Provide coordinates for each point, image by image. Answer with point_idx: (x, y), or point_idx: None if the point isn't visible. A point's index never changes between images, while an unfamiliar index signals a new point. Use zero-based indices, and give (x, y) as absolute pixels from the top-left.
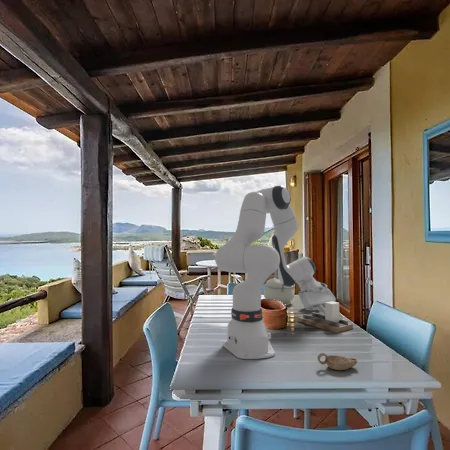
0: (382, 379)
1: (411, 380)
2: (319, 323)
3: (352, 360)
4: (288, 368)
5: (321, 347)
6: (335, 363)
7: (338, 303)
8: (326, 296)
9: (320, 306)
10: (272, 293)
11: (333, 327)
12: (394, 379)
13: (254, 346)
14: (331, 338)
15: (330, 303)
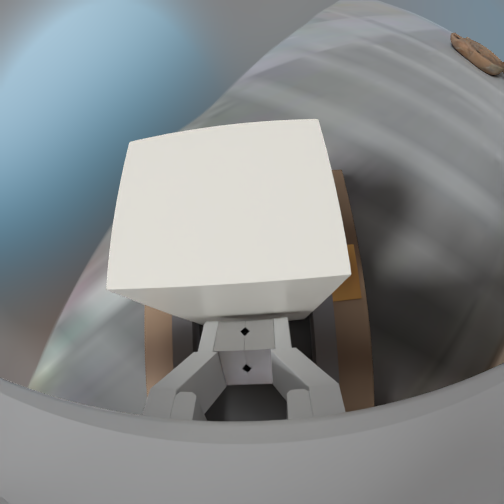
0: (426, 21)
1: (385, 3)
2: (368, 321)
3: (461, 37)
4: None
5: (485, 126)
6: (493, 53)
7: (152, 143)
8: (27, 482)
9: (339, 393)
10: None
11: (346, 190)
12: (408, 13)
13: None
14: (417, 150)
15: (315, 159)
